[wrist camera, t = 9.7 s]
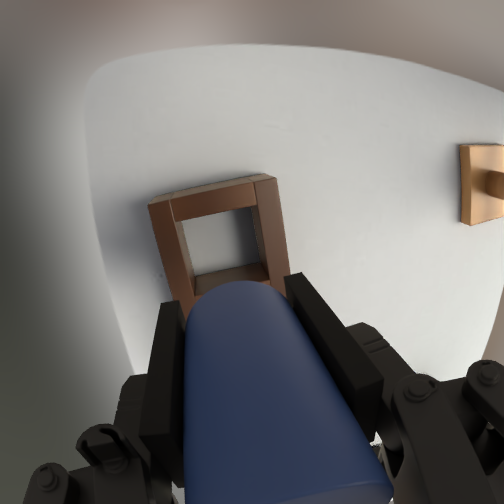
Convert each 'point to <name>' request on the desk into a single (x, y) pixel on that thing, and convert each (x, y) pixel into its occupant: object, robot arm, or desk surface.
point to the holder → (210, 202)
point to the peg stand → (482, 183)
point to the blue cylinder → (267, 410)
